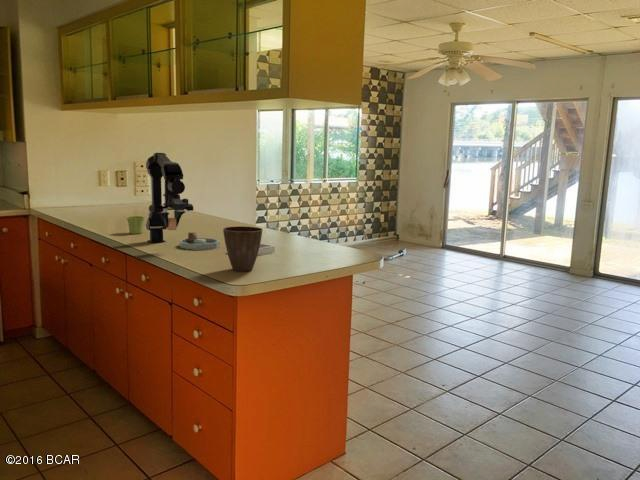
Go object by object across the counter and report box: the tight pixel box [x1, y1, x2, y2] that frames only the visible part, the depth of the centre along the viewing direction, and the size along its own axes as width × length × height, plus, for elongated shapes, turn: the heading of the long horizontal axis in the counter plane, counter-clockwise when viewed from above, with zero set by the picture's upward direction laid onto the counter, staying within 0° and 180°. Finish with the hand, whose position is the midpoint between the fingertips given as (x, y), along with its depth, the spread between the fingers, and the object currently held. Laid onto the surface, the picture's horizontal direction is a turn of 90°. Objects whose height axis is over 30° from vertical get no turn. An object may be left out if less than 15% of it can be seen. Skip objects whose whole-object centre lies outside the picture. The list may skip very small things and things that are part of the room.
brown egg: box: [166, 217, 177, 231], centre depth 237 cm, size 4×4×5 cm
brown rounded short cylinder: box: [187, 231, 198, 244], centre depth 255 cm, size 4×4×5 cm
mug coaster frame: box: [257, 242, 276, 257], centre depth 242 cm, size 14×16×3 cm
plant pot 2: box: [222, 225, 263, 272], centre depth 206 cm, size 15×15×16 cm
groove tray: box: [179, 237, 221, 251], centre depth 252 cm, size 18×18×3 cm
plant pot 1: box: [125, 215, 145, 235], centre depth 283 cm, size 9×9×9 cm
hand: (171, 227), depth 237 cm, fingers closed on brown egg, 4 cm apart
